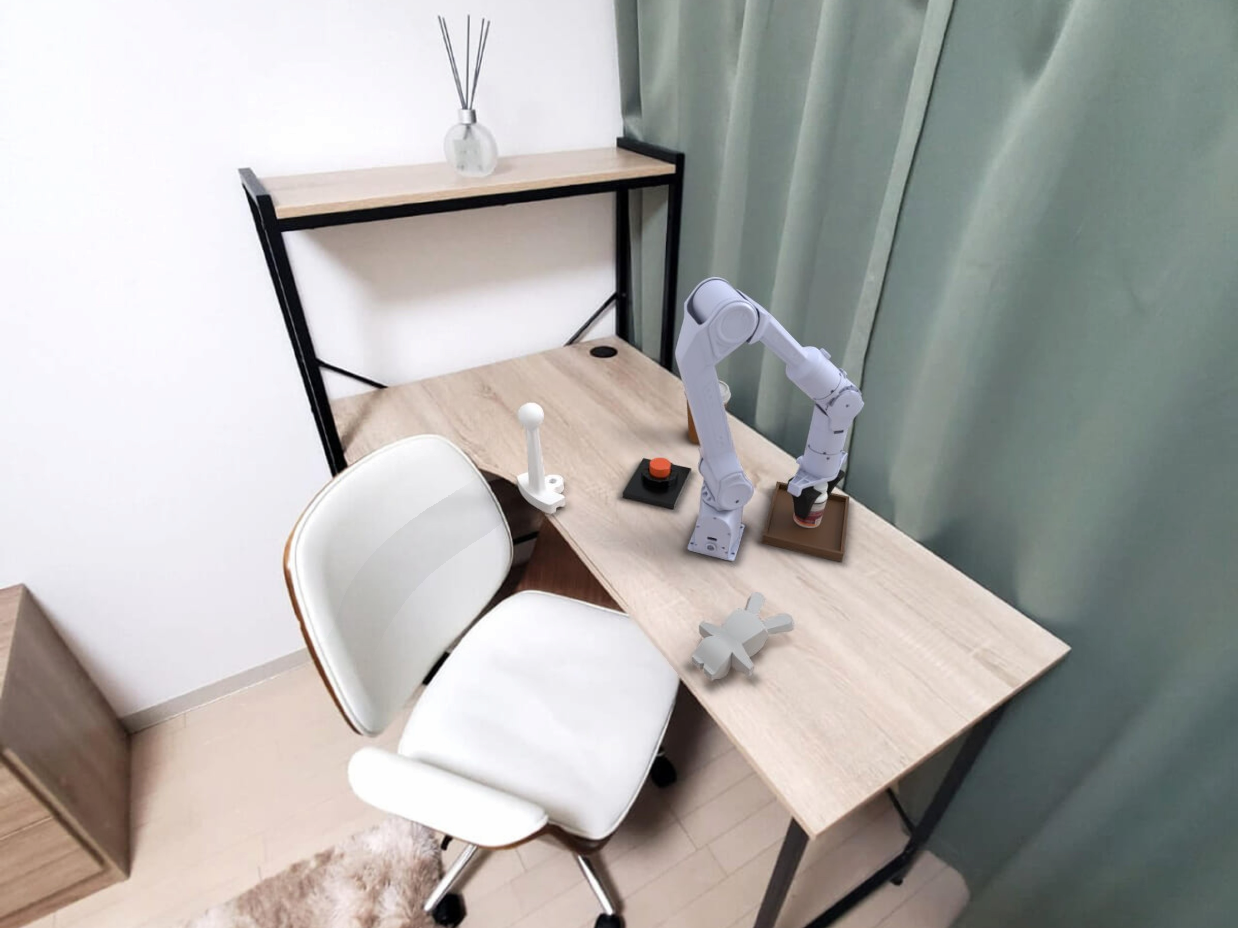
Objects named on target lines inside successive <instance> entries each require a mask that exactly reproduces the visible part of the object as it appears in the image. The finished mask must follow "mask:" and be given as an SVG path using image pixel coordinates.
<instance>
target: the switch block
mask: <svg viewBox="0 0 1238 928" xmlns="http://www.w3.org/2000/svg"><path fill="white" fill-rule="evenodd" d="M651 460H652V459H650V458H646V457H643V458H642V459H641V461H640V462H639V464H638V466H637V467H636V469H635V471H634V473H633V475H632V476H631V478H630V479H629V481H628V482H627V484H626V486H625V487H624V489H623V490H622V499H626V500H630V501H635V502H639V503H642V504H648V505H652V506H655V507H660V508H664V509H668V510H671V511H672V510H673V511H675V509H676V507H677V505H678V502H679V501H680V498H681V496H682V494H683V492H684V489H685V488H686V485H687V483H688V481H689V478H690V477H691V475H692V468H691V467H688V466H683V465H678V464H674V463H672V462H671V461H670V463H671V469H670V474H669V475H668V476H667V477H661V478H659V477H654V476H652V475H651V474H650V472H649V468H650V461H651Z"/></svg>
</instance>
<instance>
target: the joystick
mask: <svg viewBox="0 0 1238 928" xmlns="http://www.w3.org/2000/svg"><path fill="white" fill-rule="evenodd" d="M517 419H518V422H519V424H520V425H521V426H522V427H523V428H524V429H525V439H526V454H527V455H526V456H527V458H526V460H527V471H526V472H524V473H521V474H519V475H517V476H516V481H517V482H516V483H517V488H518V490H519V492H520V494H521V496H522V497H523V498H524V499H525V500H526V501H527V502H528V503H529V504H530V505H532V506H533V507H535V508H536V509H538V510H540V511H541V512H543V513H547V514H549V515H552V514H554V513H556V512H557V508H559V507H561V508H563V507H565V505H566V497H565V495H564V494H561V493H563V492H564V489H565V485H564V484H565V483H564V478H563V477H562V476H561V475H559V474H549V475H546V473H545V466H544V458H543V451H542V444H541V436H540V426H541V425H542V424H543V422H544V419H545V413H544V409H543V408H542V406H540V404H539V403H538V404H537V403H535V402H526V403H524V404H523V405H521V407H520V408H519V409H518V411H517Z"/></svg>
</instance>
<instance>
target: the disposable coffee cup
mask: <svg viewBox="0 0 1238 928" xmlns="http://www.w3.org/2000/svg"><path fill="white" fill-rule="evenodd" d="M718 382H719V386H720V390H721V394H722V398H723V403H724V407H725V411H726V409H727V405H728V402H729V401H730V399H731V397H732V393H731V390H730V386H729V385H728V384H727V383H726V382H725V381H723V380H721V379H720V380H719V379H718ZM683 392H684V396H685V399H686V413H687V430H688V431H687V432H688V439H689V440H690V441H691V442H693V443H694V444H698V445H700V442H699V439H698V435H697V432H696V428H695V425H694V421H693V417H692V414H691V410H690V407H689V403H688V400H687V396H686V393H685V390H684V391H683Z"/></svg>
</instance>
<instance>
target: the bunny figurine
mask: <svg viewBox="0 0 1238 928" xmlns="http://www.w3.org/2000/svg"><path fill="white" fill-rule="evenodd" d="M765 603H766V597H765V595H764V594H763V593H762V592H759V591H753V592H752V593H751V595H750V596H749V597H748V598H747V601H746V603H745V607H744V609H742V608H741V607H737V608H736V609H734V610H733V611H732V612H731V613H729V615H728V616H727V617H726V618H725V619H724V621H723V622H722V625H721V626H720V625H716V624H713V623H710V622H708V621H705V620H702V621H701V622H700V623H698V633H699V635H700V636H701V637H702V638H703V639H702V640H701V641H700V643H699V644H698V646H697V647H696V649H695V651H694V652H693V654H692V655H691V656H690V657H691V658H690V659H691V660H690V661H691V663H692V664H693V665H694V666H695V667H696V668H697V669H698V670H699V671H701V670H702V673H703V675H704V676H705V677H707V678H708V679H709V680H710V681H711V682H714V680H721V679H723V678H725V677H727V675H728V674H729V672H730V671H731V668H734V669H735V670H736V671H738V672H740V673H741V674H742V675H745V676H746V677H748V678H750V677H752V676H753V675H754V672H755V670H754V669H755V665H754V663H753V661H752V659H751V657H753V656H754V655H756V654H758V652H759V651H760V650H761V649H762V648H763V647H764V645H765V643H766V642H767V640H768V638H769V636H770V635H771V636H772V635H777V634H783V633H791V632H792V631H794V630H795V626H796V625H795V622H794V618H793V617H792V615H791V614H788V613H779V614H777V615H774V616H771V617H769V618H767V619H764V620H762V619H761V618H760V617H759V613H760V611H761V610H762V608H763V606H764V605H765Z"/></svg>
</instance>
